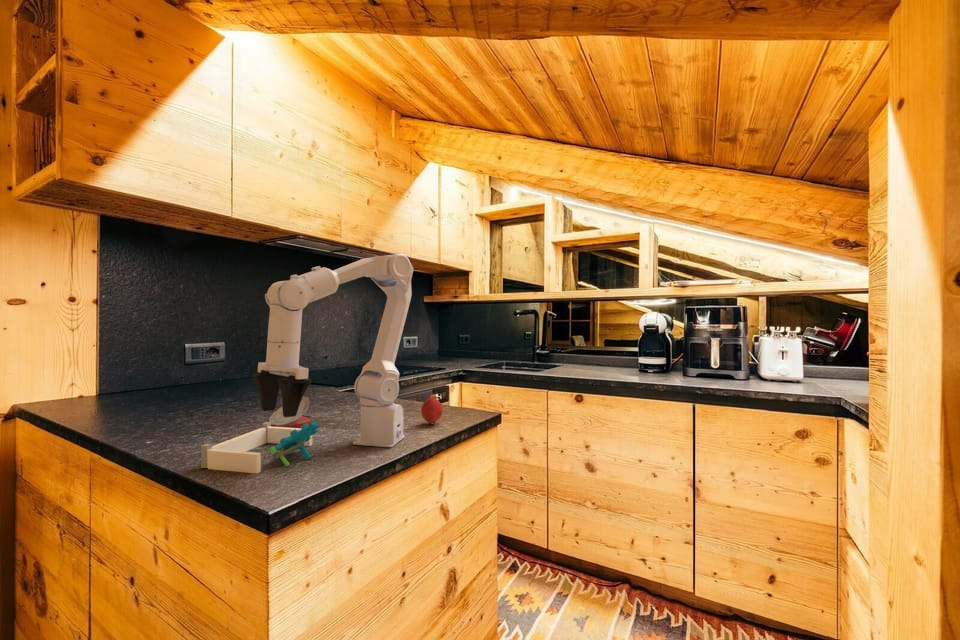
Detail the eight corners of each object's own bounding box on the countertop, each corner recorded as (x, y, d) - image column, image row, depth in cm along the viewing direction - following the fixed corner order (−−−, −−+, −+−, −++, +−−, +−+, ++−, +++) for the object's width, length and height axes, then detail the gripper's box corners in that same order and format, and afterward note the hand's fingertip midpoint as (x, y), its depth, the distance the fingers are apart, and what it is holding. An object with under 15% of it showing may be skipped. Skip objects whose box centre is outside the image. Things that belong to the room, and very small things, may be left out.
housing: (312, 444, 91) (312, 425, 91) (256, 473, 74) (256, 450, 74) (266, 440, 94) (265, 422, 94) (201, 468, 77) (201, 445, 77)
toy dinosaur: (303, 439, 90) (322, 413, 85) (319, 460, 88) (339, 434, 84) (257, 462, 80) (275, 433, 76) (273, 486, 79) (293, 458, 74)
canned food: (308, 451, 101) (311, 420, 97) (263, 451, 97) (264, 419, 93) (312, 420, 110) (315, 391, 106) (272, 419, 107) (273, 389, 103)
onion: (428, 428, 105) (428, 397, 105) (417, 423, 109) (417, 394, 109) (446, 424, 109) (447, 395, 109) (435, 420, 113) (435, 391, 113)
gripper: (244, 340, 78) (238, 410, 78) (284, 344, 70) (278, 422, 70) (279, 340, 84) (274, 406, 84) (320, 344, 76) (315, 417, 75)
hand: (278, 413), depth 77 cm, fingers open, 7 cm apart
